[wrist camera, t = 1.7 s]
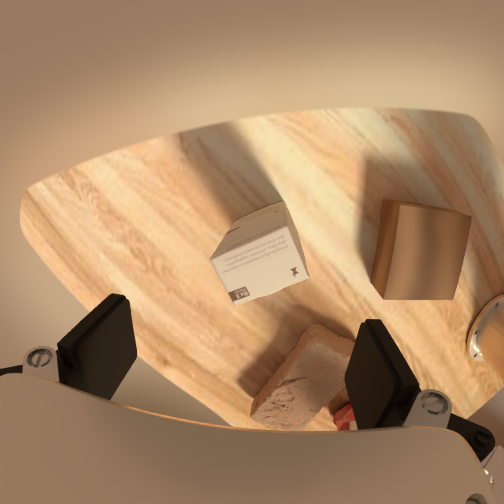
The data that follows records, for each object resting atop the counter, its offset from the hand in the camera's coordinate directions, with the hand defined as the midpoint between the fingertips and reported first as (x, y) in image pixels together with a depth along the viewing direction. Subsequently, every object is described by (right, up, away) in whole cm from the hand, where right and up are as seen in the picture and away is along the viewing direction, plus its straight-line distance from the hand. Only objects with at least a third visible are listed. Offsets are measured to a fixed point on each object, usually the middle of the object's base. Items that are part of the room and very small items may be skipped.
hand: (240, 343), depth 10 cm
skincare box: (+2, +6, +20) cm, 21 cm away
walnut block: (+20, +4, +19) cm, 28 cm away
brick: (+8, -14, +26) cm, 30 cm away
